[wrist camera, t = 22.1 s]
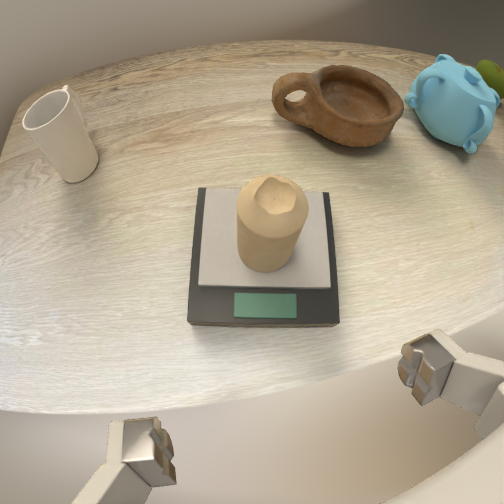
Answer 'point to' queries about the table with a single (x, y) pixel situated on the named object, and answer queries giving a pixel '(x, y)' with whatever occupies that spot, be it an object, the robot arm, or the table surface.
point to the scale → (261, 283)
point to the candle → (269, 221)
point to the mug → (62, 134)
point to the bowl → (340, 104)
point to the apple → (492, 76)
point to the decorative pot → (454, 103)
